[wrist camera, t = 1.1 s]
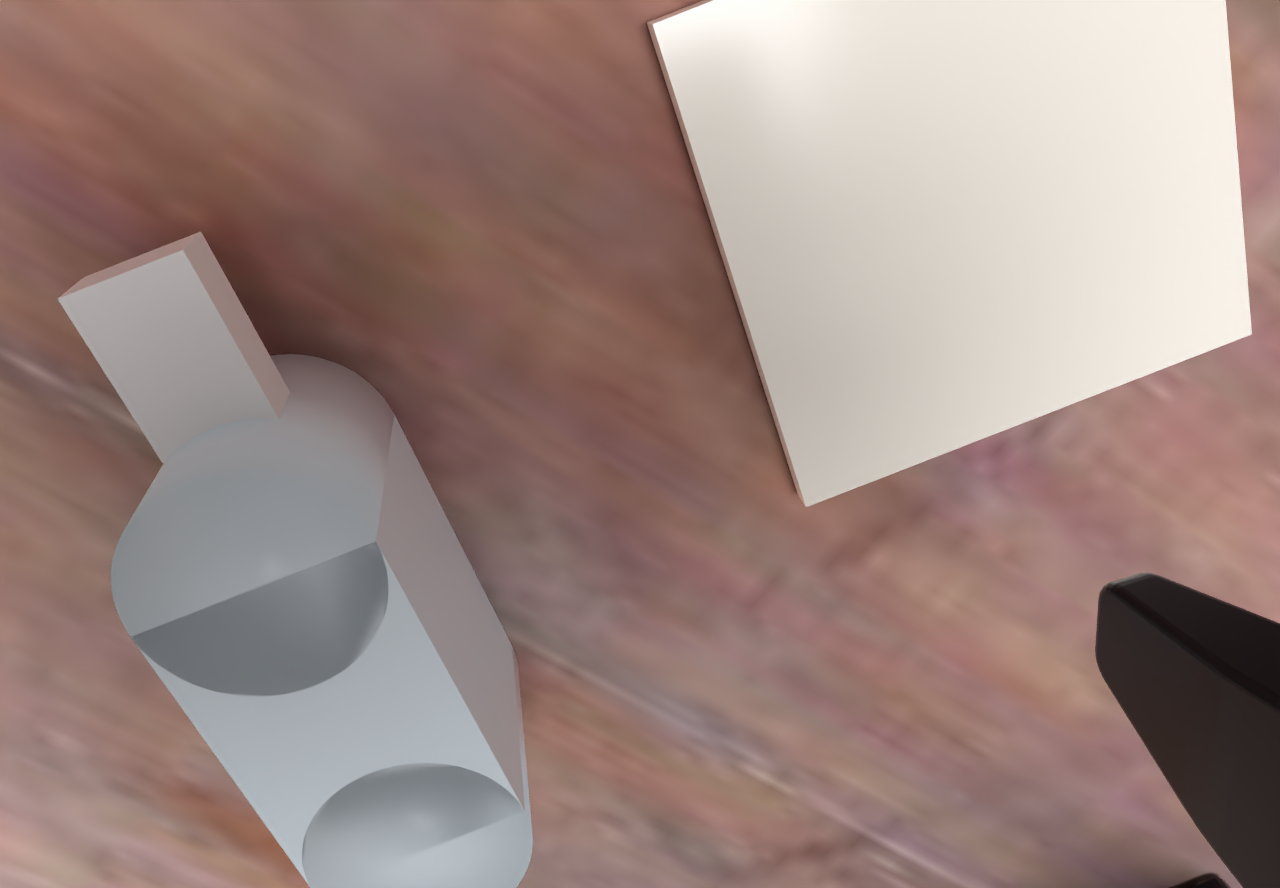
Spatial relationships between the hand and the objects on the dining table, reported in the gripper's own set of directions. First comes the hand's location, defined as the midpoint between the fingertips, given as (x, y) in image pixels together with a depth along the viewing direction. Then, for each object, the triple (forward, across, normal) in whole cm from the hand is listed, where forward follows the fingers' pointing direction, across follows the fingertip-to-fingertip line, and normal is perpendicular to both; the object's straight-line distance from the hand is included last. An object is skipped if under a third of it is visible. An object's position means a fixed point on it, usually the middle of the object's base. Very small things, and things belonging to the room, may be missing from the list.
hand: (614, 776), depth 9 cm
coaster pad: (+12, -10, +1) cm, 15 cm away
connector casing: (+12, +4, +4) cm, 14 cm away
